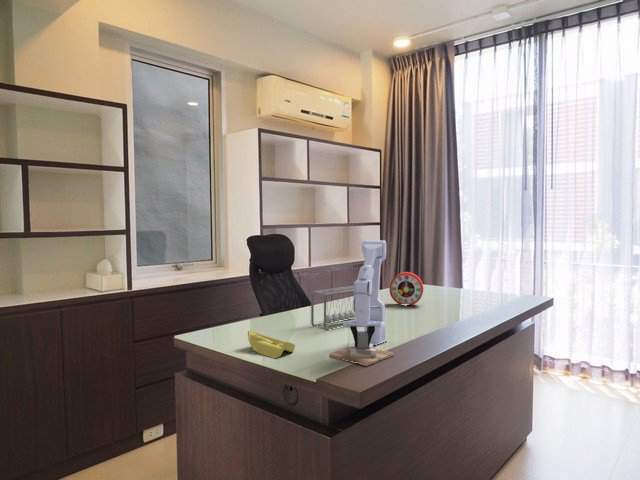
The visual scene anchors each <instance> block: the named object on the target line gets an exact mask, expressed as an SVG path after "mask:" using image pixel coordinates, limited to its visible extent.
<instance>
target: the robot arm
mask: <svg viewBox="0 0 640 480" xmlns="http://www.w3.org/2000/svg"><path fill="white" fill-rule="evenodd" d="M387 246H388V245H387V242H386V240H385V239H383V240H381V239H379V240H377V239H376V240H375V239H371V240H370V239H364V240H362V243H361V252H362V254H363V257H364V260H363V265H361V266H360V268H359V271H358V275H357V279H356V280H354V282H353V285H352V286H353V288H352V290H353V291H354V292H353V300H354V299H355V318H354V320H347V321H342V322H343V324H342V325H343V327H342V328H343V329H345V328H349V329H350V331H351V334H352V337H353V340H354V344H355V346H357V331H359V330H358V328H363V329H364V330H363V331H367V333H368V346H369V345H370V344H373V345H376V346H378V345H377V344H379V345H381V344H380V343H382V344H384V343H386V342H385V341H387V342H388V340H386V330H387V328H386V327H387V326H386V325H385V318H386V305H385V304H384V302H383V301H382V300H381V299H380V286H381V285H380V284H381V282H380V281H381V267H382V263H383V261H386V259H387V250H388V249H387ZM383 342H384V343H383Z"/></svg>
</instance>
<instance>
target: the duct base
mask: <svg viewBox="0 0 640 480" xmlns="http://www.w3.org/2000/svg"><path fill="white" fill-rule="evenodd" d="M394 353H395V352H390V351H387V350H382V349H380V348H379V349H378V348H375V346H373V344H370V345H369V346H368V349H356V346H355V343H348V347H345V348H343V349H339V350H336V351H333V352H330V353H329V354H328V356H329V357H330V356H331V358H334V357H335V358H334V359H337V358H339V359H338V360H341V359H344V360H348V361H353V362H361V363H363V362H364V363H365V364H369V363H371V362H374V361H377V360H380V359H382V358H385V357H387V356H390V355H392V354H394ZM394 355H395V354H394ZM344 360H343V361H344ZM348 361H347V362H348ZM366 362H367V363H366Z"/></svg>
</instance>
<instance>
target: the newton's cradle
mask: <svg viewBox="0 0 640 480" xmlns="http://www.w3.org/2000/svg"><path fill="white" fill-rule="evenodd" d="M353 286H354V285H349V286H342V287H333V288H325V289H319V290H317V289H316V290H313V291H312V292H311V297H310V299H311V300H310V301H311V303H310V305H311V306H310V308H311V309H310V312H311V313H310V314H311V315H310V316H311V317H310V318H311V319H310V321H311V322H310V323H311V326H312V327H314V326H316V327H317V325H321V324H324V325H323V326H322V325H321V326H318V328H320V327H321V329H323V330H325V331H330V330H329V329H332V330H334V329H333V328H337V327H341V326H343V324H341V325H336V326H331V327H327V324H326V323H331V322H335V321H339V320H344V319H349V318H354V317H355V299H354V298H353V301H352V303H353V304H352V306H351V303H349V304H350V308H351V309H350V310H349V311H348V310H347V308H348V305H349V304H347V306H346V308H344V309H345V311H343V312H342V310H343V308H340V305H339V306H338V304H336V305H334V303H332V304H333V307H334V306H336V307H335V308H337V307H339V309H340V311H339V312H338V313H336V312H337V311H334V312H333V313H332V314H331V315H330V311H328V313H327V310H329V308H331V307H332V305H331V304H330V305H327V299H328V297H329V296H331V300H330V302H333V297H334V296H336V295H343V296H342V298H345V294H350V293H354V291H353ZM315 294H322V295H324V296H323V322H319V323H316V324H315V323H314V311H315V309H314V307H315V306H314V304H315V301H314V299H315ZM350 297H351V296H350V295H348V298H347V301H350V300H351V298H350ZM339 299H340V298H339V296H337V299H336V300H337V301H340V300H339ZM345 301H346V300H345V299H343V301H342V304H341V305H343V304H346V303H345ZM328 306H330V307H329V308H328ZM354 319H355V318H354ZM331 324H332V323H331ZM337 329H338V328H337Z"/></svg>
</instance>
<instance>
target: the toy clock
mask: <svg viewBox="0 0 640 480" xmlns="http://www.w3.org/2000/svg"><path fill="white" fill-rule="evenodd" d="M388 289H389V294H390V297H391V299H392V300H393V301H394V302H395V303H396V304H398V305H400V304H409V305H411V306H414V305H415V304H417V303H418V302H419V301H420V299H421V298H422V296H423V295H424V294H423V293H424V284H423V281H422V279H421V278H420V277H419V275H417V274H415V273H413V272H410V271H404V272H400V273H398V274H396V275H395V276H394V277H393V279H391V281H390V285H389V288H388Z"/></svg>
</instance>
